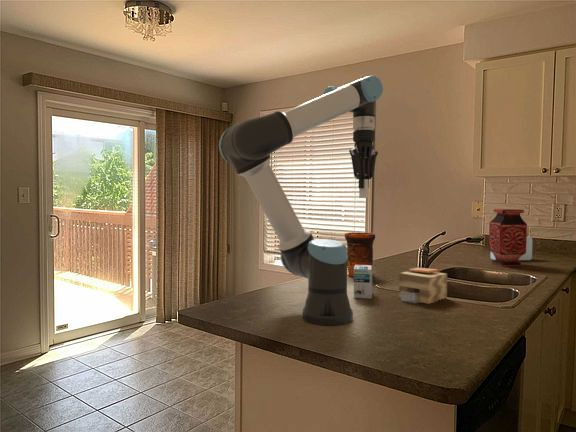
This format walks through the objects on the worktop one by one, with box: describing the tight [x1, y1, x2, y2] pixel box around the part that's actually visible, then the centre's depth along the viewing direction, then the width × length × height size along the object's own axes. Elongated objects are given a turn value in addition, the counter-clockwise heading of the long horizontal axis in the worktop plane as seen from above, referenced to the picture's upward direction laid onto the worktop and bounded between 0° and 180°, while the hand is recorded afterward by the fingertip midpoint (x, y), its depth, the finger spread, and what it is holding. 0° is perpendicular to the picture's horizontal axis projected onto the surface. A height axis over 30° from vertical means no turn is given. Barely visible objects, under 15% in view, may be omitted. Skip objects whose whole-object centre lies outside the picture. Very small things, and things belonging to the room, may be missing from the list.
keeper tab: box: [407, 266, 439, 273], centre depth 157 cm, size 9×6×1 cm
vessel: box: [344, 231, 376, 278], centre depth 201 cm, size 14×14×20 cm
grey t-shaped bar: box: [400, 290, 421, 304], centre depth 155 cm, size 17×6×3 cm, turn 130°
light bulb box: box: [353, 264, 373, 300], centre depth 159 cm, size 11×7×11 cm, turn 168°
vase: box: [488, 208, 528, 267], centre depth 229 cm, size 14×14×30 cm
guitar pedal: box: [489, 236, 533, 261], centre depth 250 cm, size 23×6×13 cm, turn 100°
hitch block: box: [398, 270, 448, 305], centre depth 155 cm, size 12×12×9 cm
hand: (363, 197), depth 150 cm, fingers closed
